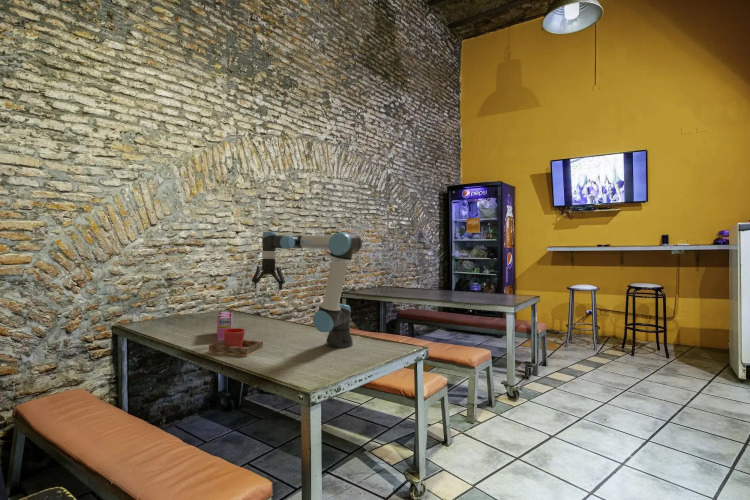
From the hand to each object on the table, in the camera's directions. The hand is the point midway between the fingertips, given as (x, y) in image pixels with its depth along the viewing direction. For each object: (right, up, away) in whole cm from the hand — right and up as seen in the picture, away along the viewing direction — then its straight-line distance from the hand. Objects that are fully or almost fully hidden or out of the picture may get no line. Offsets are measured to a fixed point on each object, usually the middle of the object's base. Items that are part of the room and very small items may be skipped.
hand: (268, 294), depth 242 cm
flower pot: (-13, -26, -20) cm, 36 cm away
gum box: (-28, -26, +8) cm, 39 cm away
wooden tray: (-11, -27, -21) cm, 36 cm away
